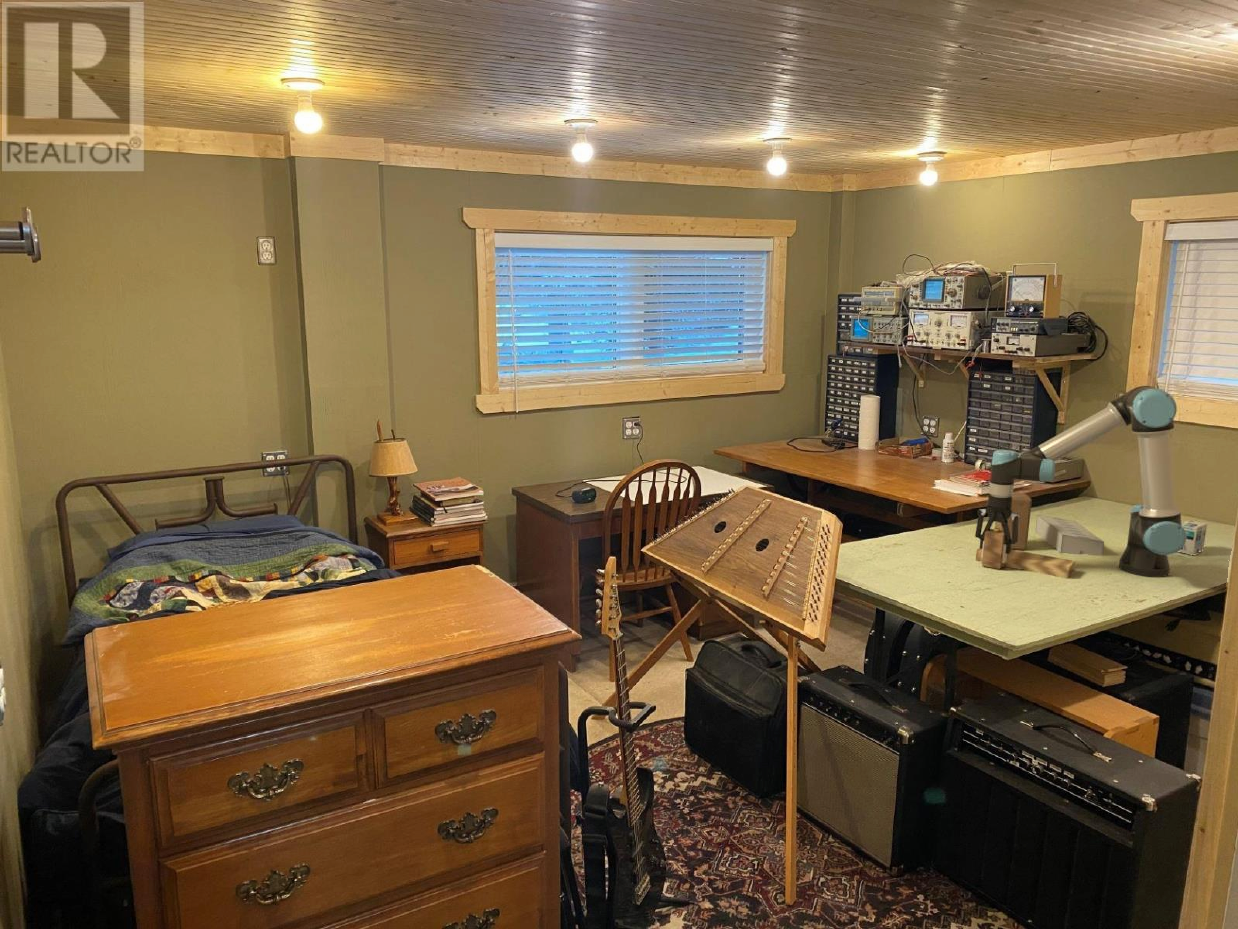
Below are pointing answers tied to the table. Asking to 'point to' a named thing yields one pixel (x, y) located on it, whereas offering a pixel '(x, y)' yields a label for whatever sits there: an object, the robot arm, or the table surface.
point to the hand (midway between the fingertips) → (993, 560)
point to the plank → (1036, 563)
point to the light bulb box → (1194, 537)
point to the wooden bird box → (993, 548)
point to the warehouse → (1068, 536)
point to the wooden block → (1022, 508)
